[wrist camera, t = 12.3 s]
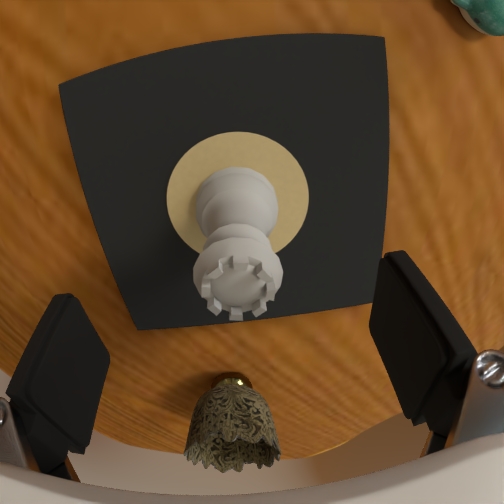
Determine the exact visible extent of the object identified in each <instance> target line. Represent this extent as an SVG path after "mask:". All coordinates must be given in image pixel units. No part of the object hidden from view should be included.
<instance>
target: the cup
mask: <svg viewBox="0 0 504 504" xmlns="http://www.w3.org/2000/svg"><path fill="white" fill-rule="evenodd" d="M186 450H187V451H186ZM186 455H187V460H188V461H190V460H192V462H193V465H196V464H197V463H198V461H201V459H202V464H203V465H204V468H205V469H207V468H208V467H209V465H210V463H211V464H212V465H213V466H214V468H216V469H218V470H219V471H220V472H222V473H224V472H227V471H228V470H231V469H233V470H235V471H237V472H241V471H242V470H243V464H244V463H245V464H246V462H247V463H248V464H251V463H256V464H257V466H258V469H261V468H262V466H263V464H264V465H265V466H267V467H271V466H272V465H273V462H274V457H275V458H276V460H278V461H279V459H280V455H281V450H280V446H279V442H278V438H277V434H276V430H275V426H274V422H273V418H272V414H271V412H270V409H269V407H268V404H267V402H266V401H265V399H264V398H263V397H262V396H261V395H260V394H259V393H258V392H256V391H255V390H253V388H252V384H251V382H250V381H249V379H248V378H247V377H245V376H244V375H241V374H238V373H225V374H221V375H219V376H218V377H216V378H215V380H214V381H213V383H212V385H211V389H210V390H208V391H207V392H206V393H204V394H203V395H202V396H201V397H200V399H199V400H198V402H197V404H196V406H195V409H194V412H193V415H192V419H191V423H190V428H189V433H188V437H187V442H186V447H185V451H184V456H186Z"/></svg>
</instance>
